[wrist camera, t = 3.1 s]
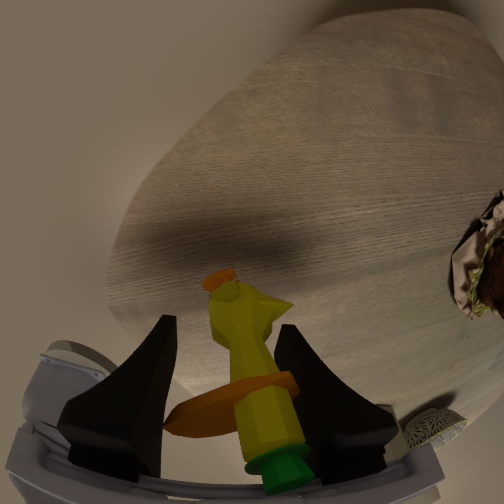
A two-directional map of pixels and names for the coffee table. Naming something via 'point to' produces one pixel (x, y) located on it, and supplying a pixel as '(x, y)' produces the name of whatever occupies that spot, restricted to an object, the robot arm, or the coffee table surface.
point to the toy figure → (249, 389)
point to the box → (395, 442)
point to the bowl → (433, 428)
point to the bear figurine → (481, 268)
